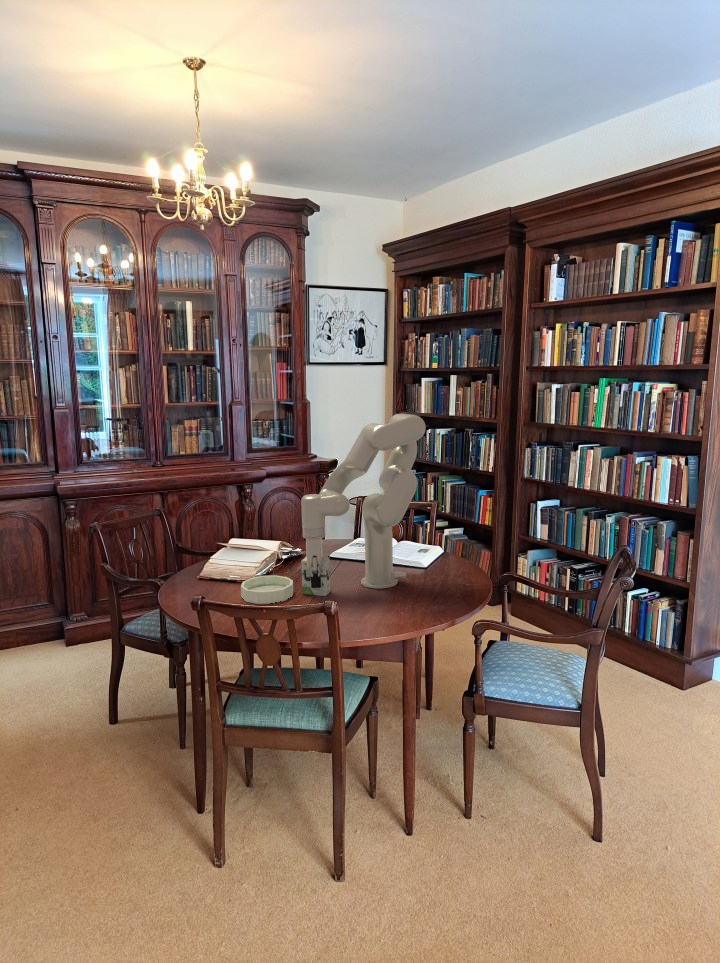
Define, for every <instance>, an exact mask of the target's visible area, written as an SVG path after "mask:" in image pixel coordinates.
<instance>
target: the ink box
mask: <svg viewBox="0 0 720 963" xmlns="http://www.w3.org/2000/svg"><path fill="white" fill-rule="evenodd" d="M330 559H331V558H329V557H326V556H325V557H323V556H322V565H321V567H320V576H321V588H311V567H309V568H307V559H306V556H305V557H304V558H303V559H301V561H300V562H301V589H302V590H301V593H302V595H309V596H322V597H323V596H324V597H326V596H327V595H328V594H329V593H330V592H331V566H330V565H331V564H330V561H331V560H330ZM312 567H313V565H312ZM317 567H318V565H317ZM317 570H318V569H317Z"/></svg>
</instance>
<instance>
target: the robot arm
mask: <svg viewBox="0 0 720 963" xmlns="http://www.w3.org/2000/svg"><path fill="white" fill-rule="evenodd" d="M425 433H426V423H425V421H424V420H423V418H421V416H418V415H416V414H409V413H395V414H394V415H392V416H391V417H390V418H389V422H388V423H384V424H380V423H368V424H366V425H365V426H364V427H363V428H362V429H361V431H360V433H359V434H358V436H357V438H356V439H355V441H354V443H353V445H352V447H351V448H350V449H349V450H350V451H349V452H348V454H346V455H347V456H346V457H345V458H344V460H343V462H341V463H340V464H339V465H338V466H337V467H336V468H335V470H333V471H332V472H331V473H330V475H329V476H328V478H327V479H326V481H325V482H324V484H323V486H322V487H321V490H320V492H319V493H318V494H317V493H311V494H305V495H303V496H302V497H301V501H300V503H301V523H302V538H303V539H305V551H306V552H305V554H306V556H305V557H306V559H307V568H309V567H311V588H321V576H320V567H321V565H322V557H323V539H324V538H325V537H326V517H341V516H344V515H345V514H347V513H348V512H349V510H350V505H351V504H350V503H351V502H350V501H349V498H348V497H347V496H346V495H344V494H343V493H344V491H345V490H346V489H347V487H348V486H349V485H350V484H351V483H352V482H354V481H355V480H357V479H358V478H361V477H362V476H364V475H365V474H367V473H368V472H369V469H370V468H371V465H373V463H374V460H375V459H376V457H377V455H378V454H379V452H381V451H382V452H385V451H390V450H391V453H390V455H389V457H388V459H387V461H386V463H385V464H384V467H383V469H382V471H381V473H380V475H379V478H378V485H379V487H380V488H381V489H382V490H384V492H385V494H383V493H379V492H377V493H376V492H375V493H370V494H368V495H367V496H366V497H365V499H364V500H363V502H362V506H361V513H362V518H363V519H362V520H363V525H364V527H363V528H364V555H365V556H364V564H365V568H364V569H365V576H364V577H362V578H361V581H360V582H361V585H362V586H364V587H365V588H369V589H378V590H379V589H389V588H393V587H395V586H396V585H397V584H398V579H407V572H403V571H396V570H394V567H393V566H394V565H393V564H394V562H393V553H394V552H393V551H394V550H393V540H394V539H393V538H394V537H393V536H394V535H393V527H394V526H396V525H398V524H399V523H401V521H402V520H403V519H404V516H405V514H406V512H407V511H408V508H409V506H410V504H411V502H412V500H413V498H414V497H415V494H416V491H417V487H418V479H417V476H416V474H415V473H414V472H413V471H412V468H413V466H414V463H415V461H416V458H417V455H418V454H417V453H418V444H417V443H418V442H417V441H418V440H420V439H421V438H422V437H423V436H424V435H425ZM312 565H313V567H312ZM317 565H318V567H317ZM317 569H318V570H317Z"/></svg>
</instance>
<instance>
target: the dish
mask: <svg viewBox="0 0 720 963" xmlns="http://www.w3.org/2000/svg"><path fill="white" fill-rule="evenodd" d="M240 595H241V596H240V597H242V598H243V599H244V600H243V599H242V598H241V599H242V600H243V601H244V602H246V603H251V604H256V605H268V604H270V603H273V604H276V603H275V602H277V603H281V602H285V601H287V600H289V599H290V597H291V598H292V597H293V596H294V580H293V579H291V578H290V577H288V576H281V575H275V574H274V575H259V576H255V577H250V578H248V579H246V580H244V581H242V582H241V585H240ZM288 598H289V599H288ZM280 601H281V602H280ZM270 605H271V604H270Z"/></svg>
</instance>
